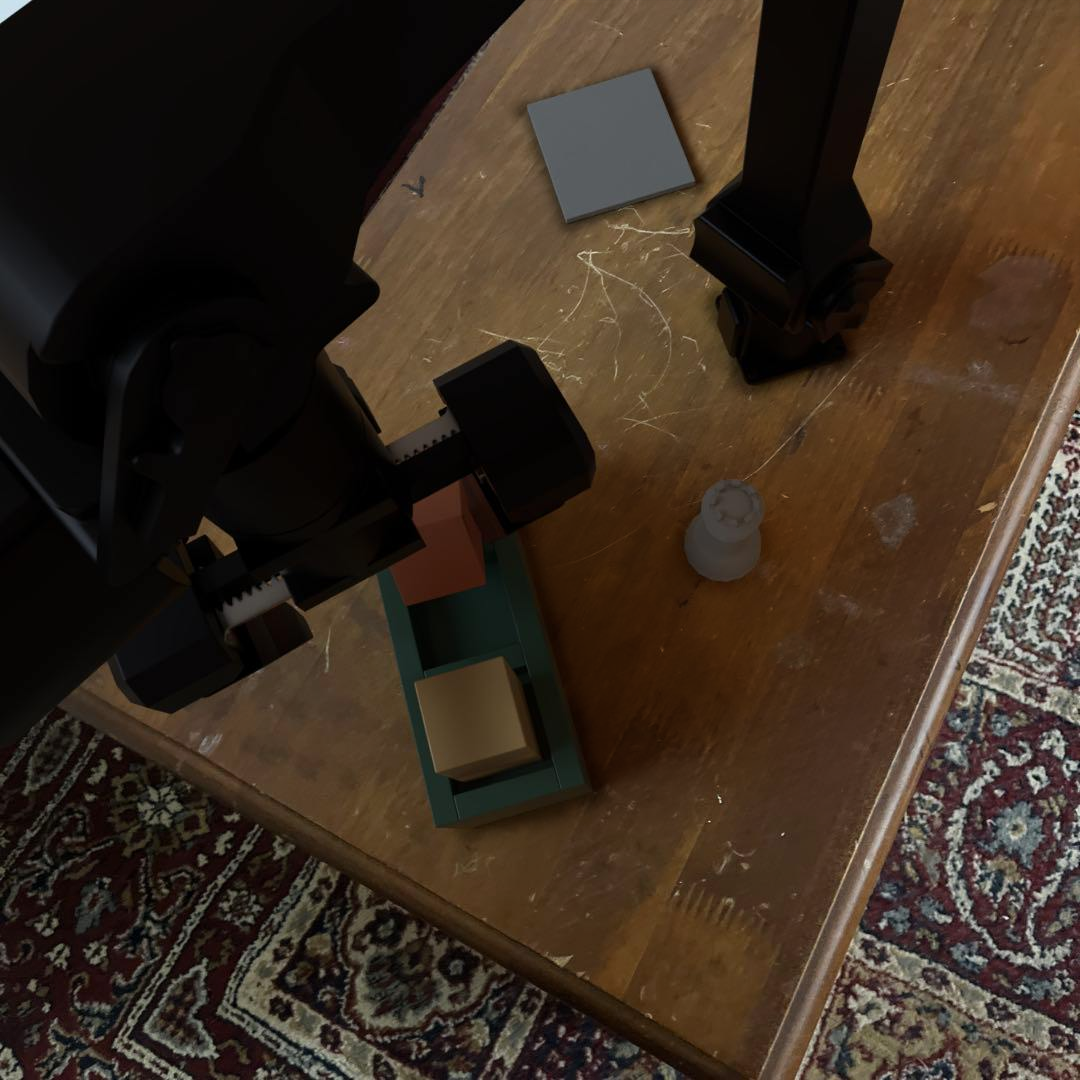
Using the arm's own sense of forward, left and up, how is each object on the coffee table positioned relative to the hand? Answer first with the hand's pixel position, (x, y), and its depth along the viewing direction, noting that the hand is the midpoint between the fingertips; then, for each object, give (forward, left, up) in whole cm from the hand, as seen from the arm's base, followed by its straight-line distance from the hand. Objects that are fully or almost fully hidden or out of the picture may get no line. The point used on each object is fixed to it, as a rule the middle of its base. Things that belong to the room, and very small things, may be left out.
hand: (396, 580), depth 43 cm
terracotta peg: (-2, -4, -3) cm, 5 cm away
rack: (-2, +1, -14) cm, 14 cm away
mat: (-19, -30, -14) cm, 38 cm away
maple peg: (-2, +7, -3) cm, 8 cm away
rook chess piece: (-17, -1, -14) cm, 22 cm away
